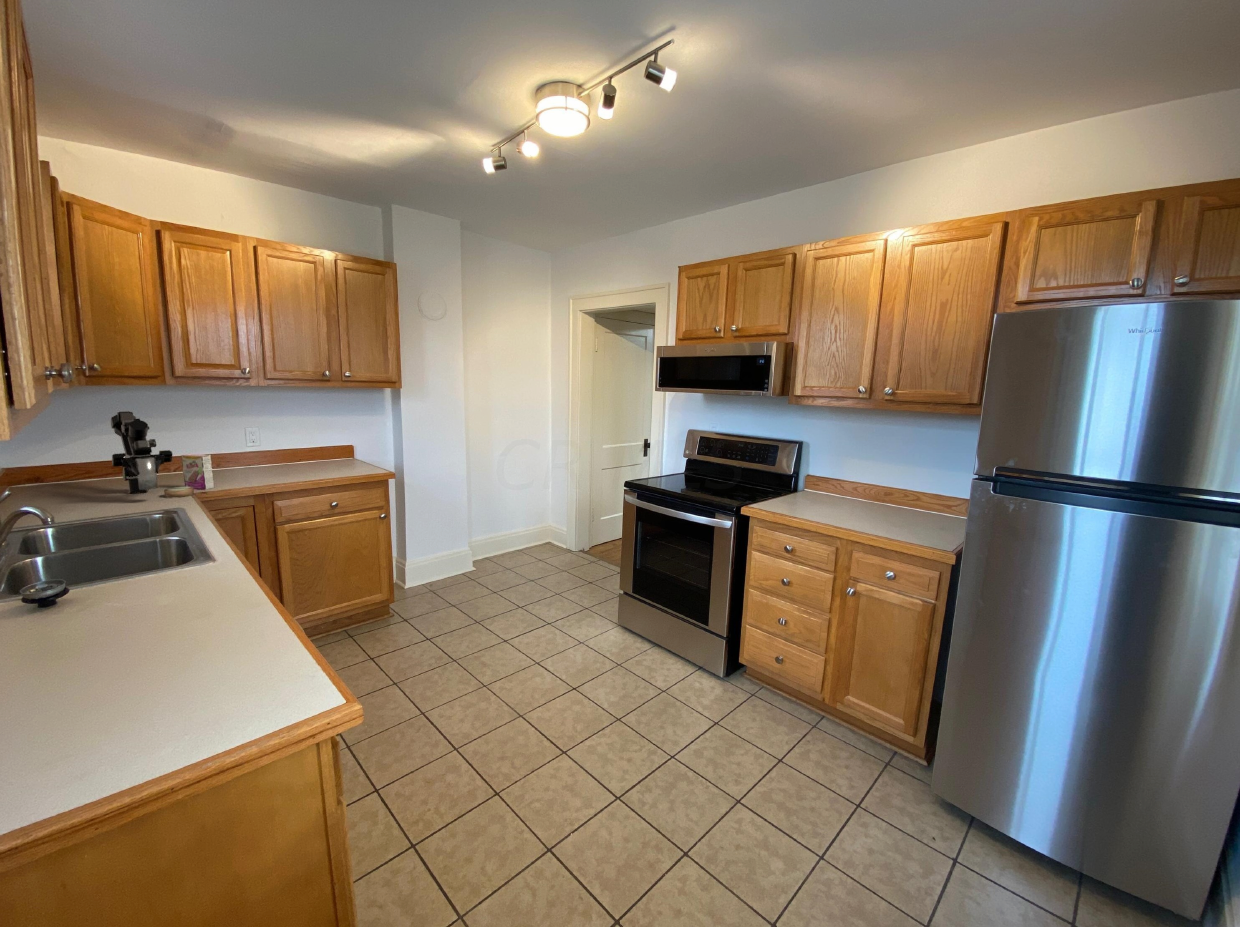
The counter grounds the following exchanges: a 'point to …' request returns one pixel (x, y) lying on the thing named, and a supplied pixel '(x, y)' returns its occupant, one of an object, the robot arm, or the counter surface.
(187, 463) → the candy bar box
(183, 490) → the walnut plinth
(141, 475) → the grey tin
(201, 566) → the counter surface
